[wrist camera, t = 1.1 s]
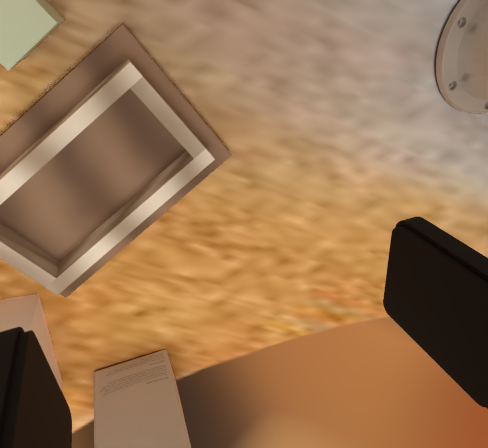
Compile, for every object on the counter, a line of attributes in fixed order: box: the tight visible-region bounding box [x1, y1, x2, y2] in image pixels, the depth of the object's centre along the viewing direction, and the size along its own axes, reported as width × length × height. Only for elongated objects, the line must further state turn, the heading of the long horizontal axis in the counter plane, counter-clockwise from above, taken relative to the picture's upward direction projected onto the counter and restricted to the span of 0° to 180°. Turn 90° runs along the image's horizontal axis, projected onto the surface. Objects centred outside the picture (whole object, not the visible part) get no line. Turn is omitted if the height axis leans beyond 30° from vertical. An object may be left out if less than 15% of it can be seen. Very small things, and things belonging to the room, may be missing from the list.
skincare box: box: [94, 349, 191, 448], centre depth 39 cm, size 8×7×16 cm
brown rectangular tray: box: [0, 24, 232, 297], centre depth 32 cm, size 20×13×4 cm, turn 127°
